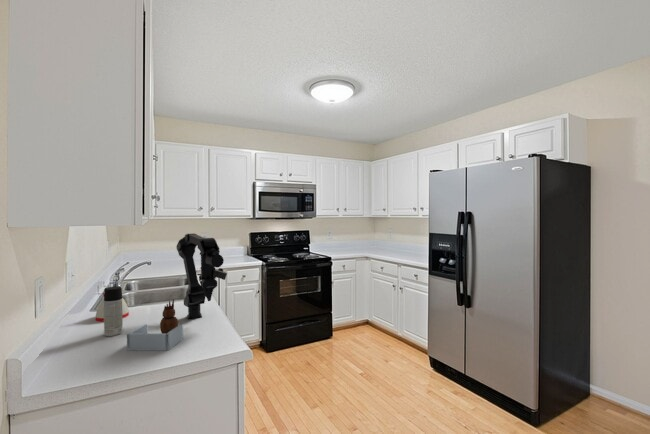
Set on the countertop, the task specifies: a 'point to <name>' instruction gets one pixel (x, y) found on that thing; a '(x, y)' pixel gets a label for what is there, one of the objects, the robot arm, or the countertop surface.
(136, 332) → the cubby
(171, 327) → the wooden figurine
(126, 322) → the countertop surface
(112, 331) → the spray can
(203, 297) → the robot arm
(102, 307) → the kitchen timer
